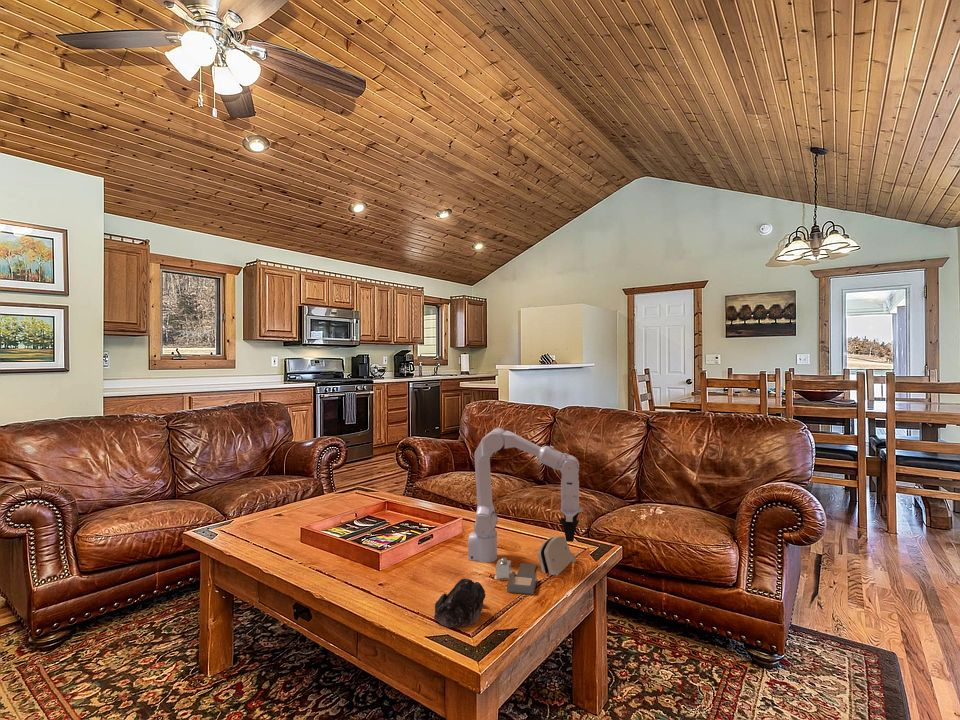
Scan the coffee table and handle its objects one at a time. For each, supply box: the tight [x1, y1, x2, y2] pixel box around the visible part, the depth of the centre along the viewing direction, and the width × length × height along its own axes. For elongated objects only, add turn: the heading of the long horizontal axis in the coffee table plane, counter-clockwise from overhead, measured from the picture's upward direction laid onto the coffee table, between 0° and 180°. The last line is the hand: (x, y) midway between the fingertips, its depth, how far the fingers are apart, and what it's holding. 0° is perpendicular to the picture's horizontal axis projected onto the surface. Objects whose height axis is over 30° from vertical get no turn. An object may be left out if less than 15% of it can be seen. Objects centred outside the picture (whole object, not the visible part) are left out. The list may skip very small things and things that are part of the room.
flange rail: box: [506, 562, 538, 596], centre depth 148 cm, size 8×19×3 cm, turn 167°
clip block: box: [495, 557, 512, 580], centre depth 150 cm, size 4×4×5 cm
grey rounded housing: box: [537, 535, 577, 577], centre depth 159 cm, size 17×5×10 cm, turn 149°
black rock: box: [433, 578, 486, 629], centre depth 129 cm, size 13×14×10 cm
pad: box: [493, 575, 511, 581], centre depth 150 cm, size 5×5×1 cm
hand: (570, 536), depth 157 cm, fingers open, 7 cm apart
